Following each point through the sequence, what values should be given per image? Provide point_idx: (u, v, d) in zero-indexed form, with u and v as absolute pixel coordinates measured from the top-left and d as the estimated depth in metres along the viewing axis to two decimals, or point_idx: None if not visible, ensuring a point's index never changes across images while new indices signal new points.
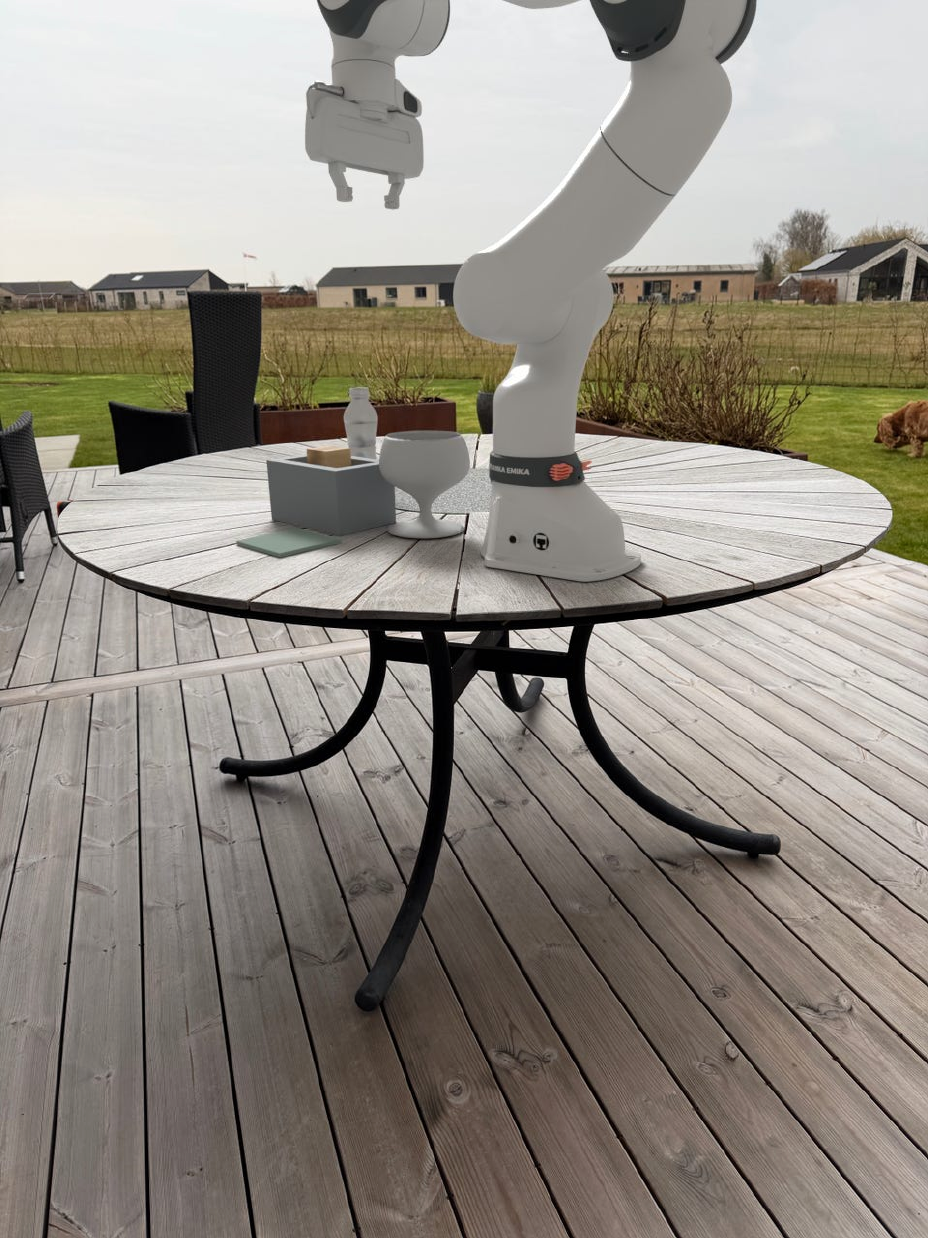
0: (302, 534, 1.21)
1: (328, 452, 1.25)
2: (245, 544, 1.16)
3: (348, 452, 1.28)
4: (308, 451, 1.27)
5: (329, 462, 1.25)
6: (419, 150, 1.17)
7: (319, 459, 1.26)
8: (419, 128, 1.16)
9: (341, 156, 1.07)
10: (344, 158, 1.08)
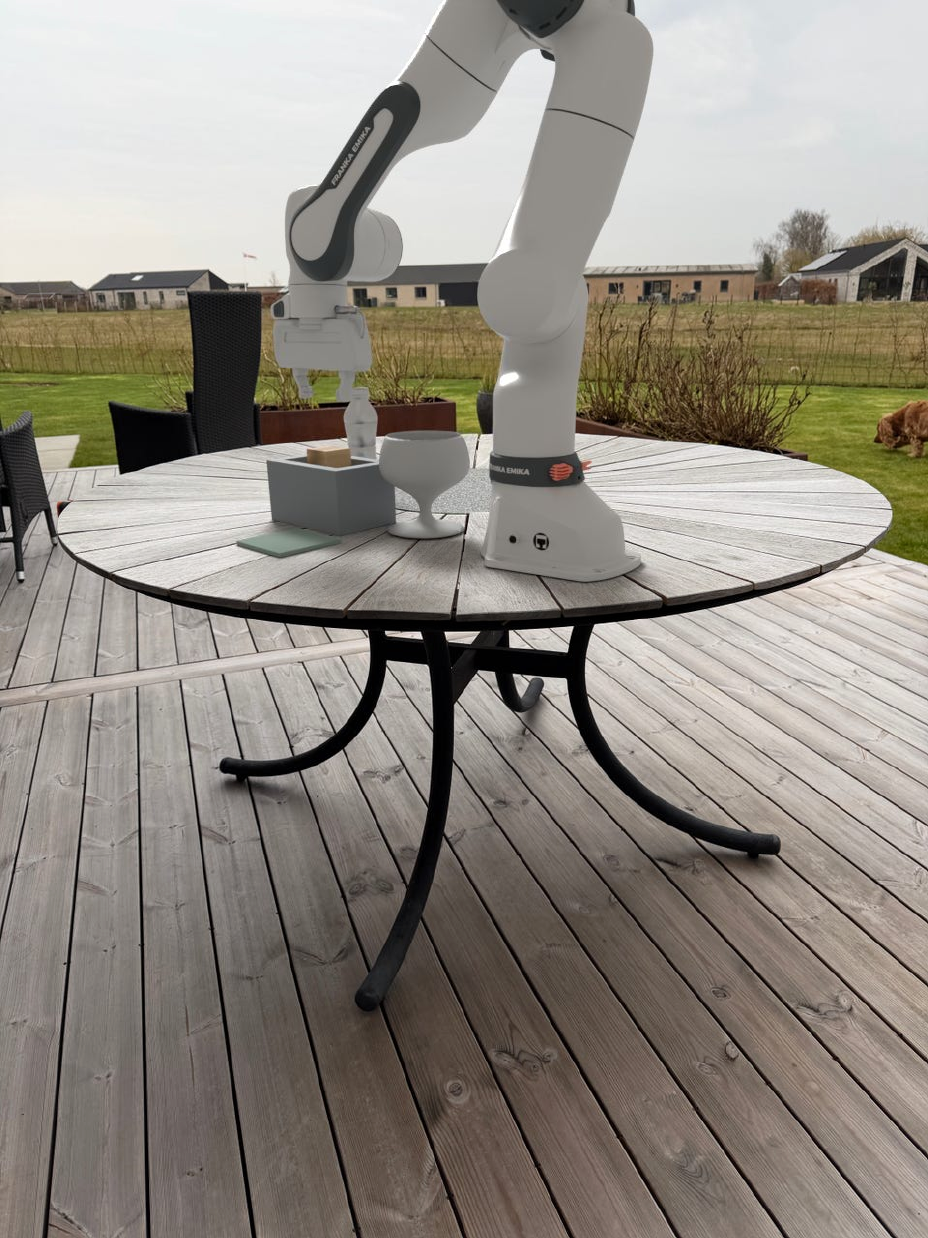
0: (302, 534, 1.21)
1: (328, 452, 1.25)
2: (245, 544, 1.16)
3: (348, 452, 1.28)
4: (308, 451, 1.27)
5: (329, 462, 1.25)
6: None
7: (319, 459, 1.26)
8: None
9: None
10: None
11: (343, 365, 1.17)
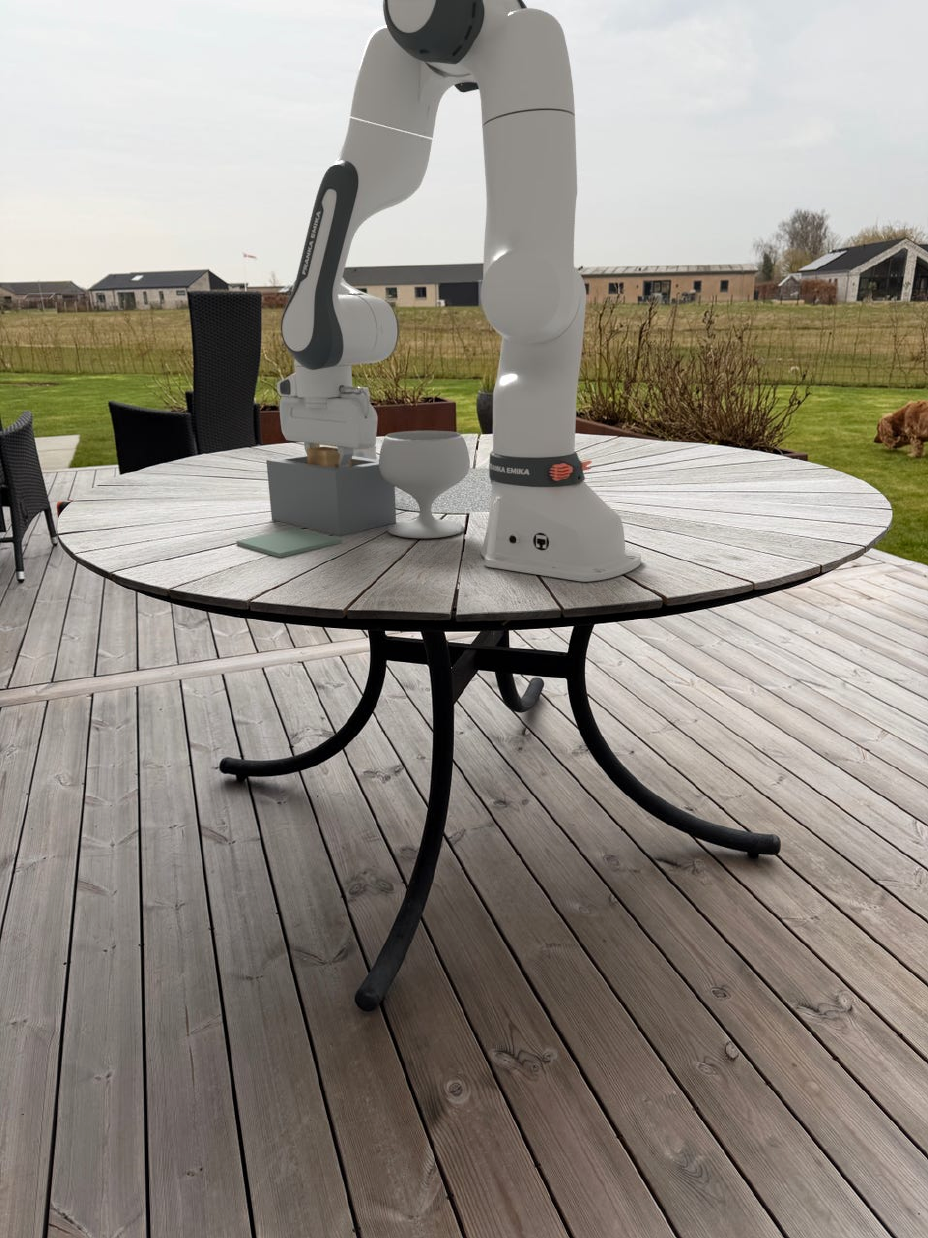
0: (302, 534, 1.21)
1: (328, 452, 1.25)
2: (245, 544, 1.16)
3: None
4: (308, 451, 1.27)
5: (329, 462, 1.25)
6: None
7: (319, 459, 1.26)
8: None
9: None
10: None
11: (348, 443, 1.21)
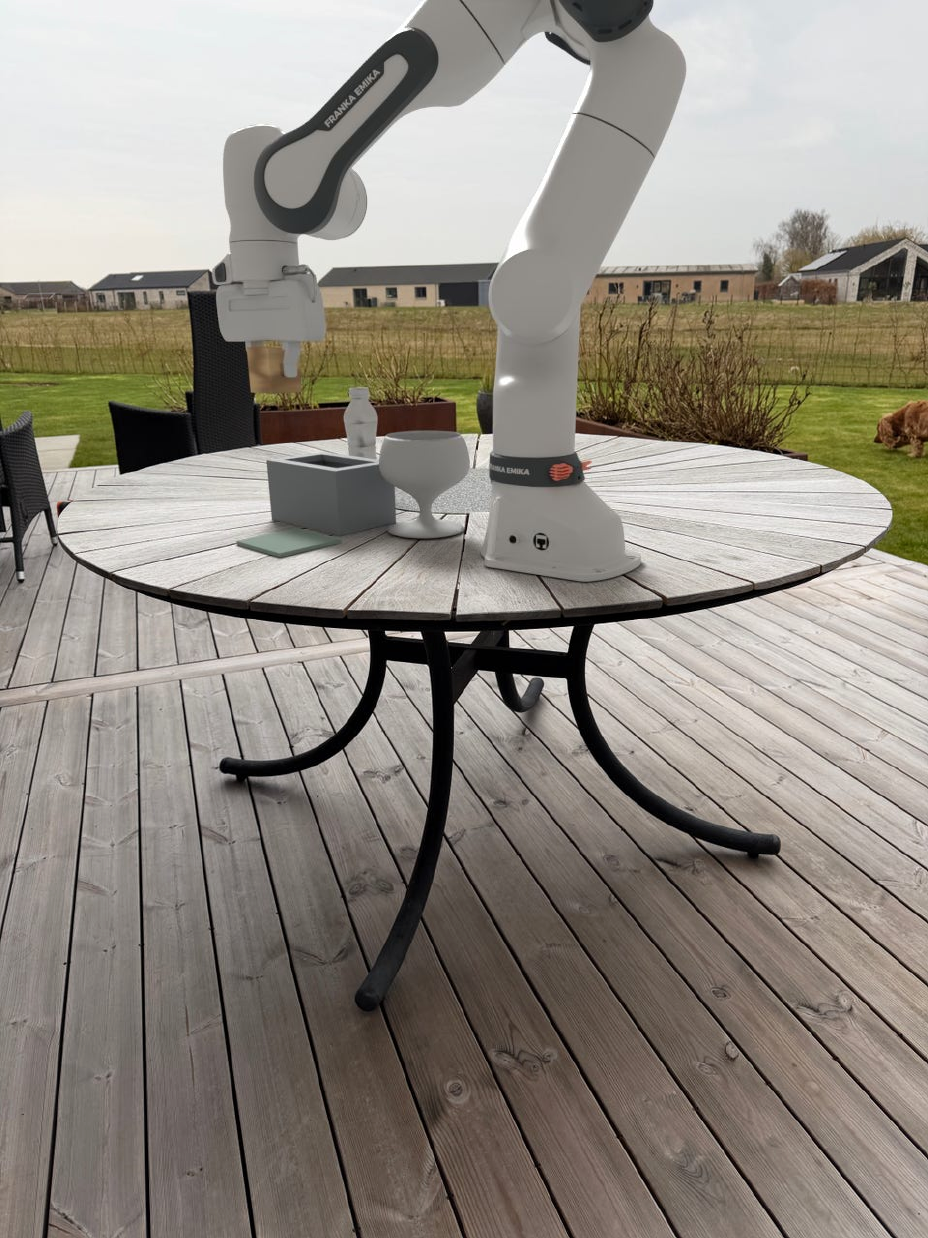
0: (302, 534, 1.21)
1: (271, 348, 1.05)
2: (245, 544, 1.16)
3: None
4: (248, 350, 1.08)
5: (272, 361, 1.06)
6: None
7: (261, 357, 1.06)
8: None
9: None
10: None
11: (293, 334, 1.02)
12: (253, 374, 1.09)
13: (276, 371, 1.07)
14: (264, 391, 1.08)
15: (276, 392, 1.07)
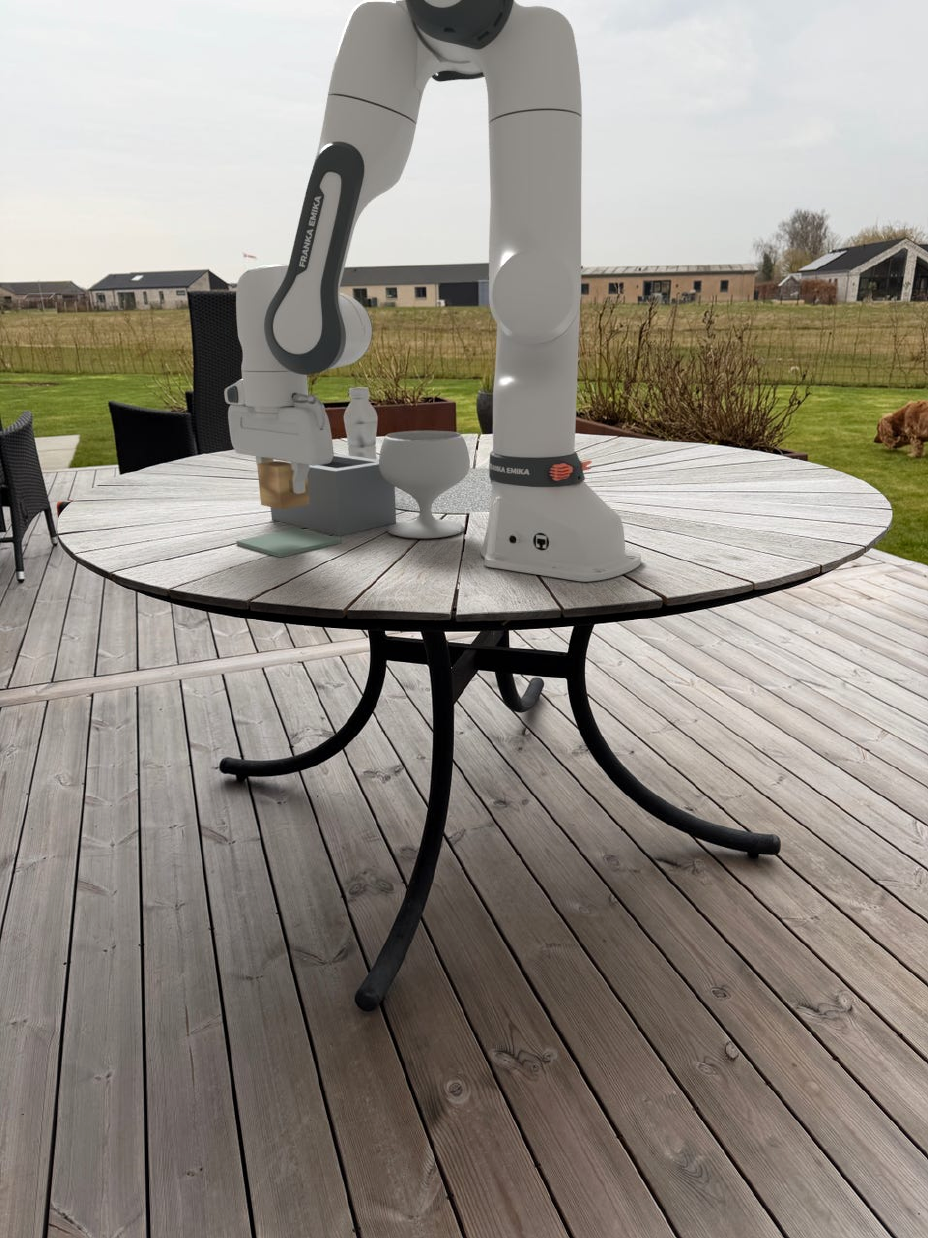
0: (302, 534, 1.21)
1: (280, 468, 1.11)
2: (245, 544, 1.16)
3: None
4: (259, 466, 1.13)
5: (282, 479, 1.11)
6: None
7: (271, 475, 1.12)
8: None
9: None
10: None
11: (302, 458, 1.07)
12: (263, 489, 1.14)
13: (286, 488, 1.12)
14: (274, 506, 1.13)
15: (285, 507, 1.13)
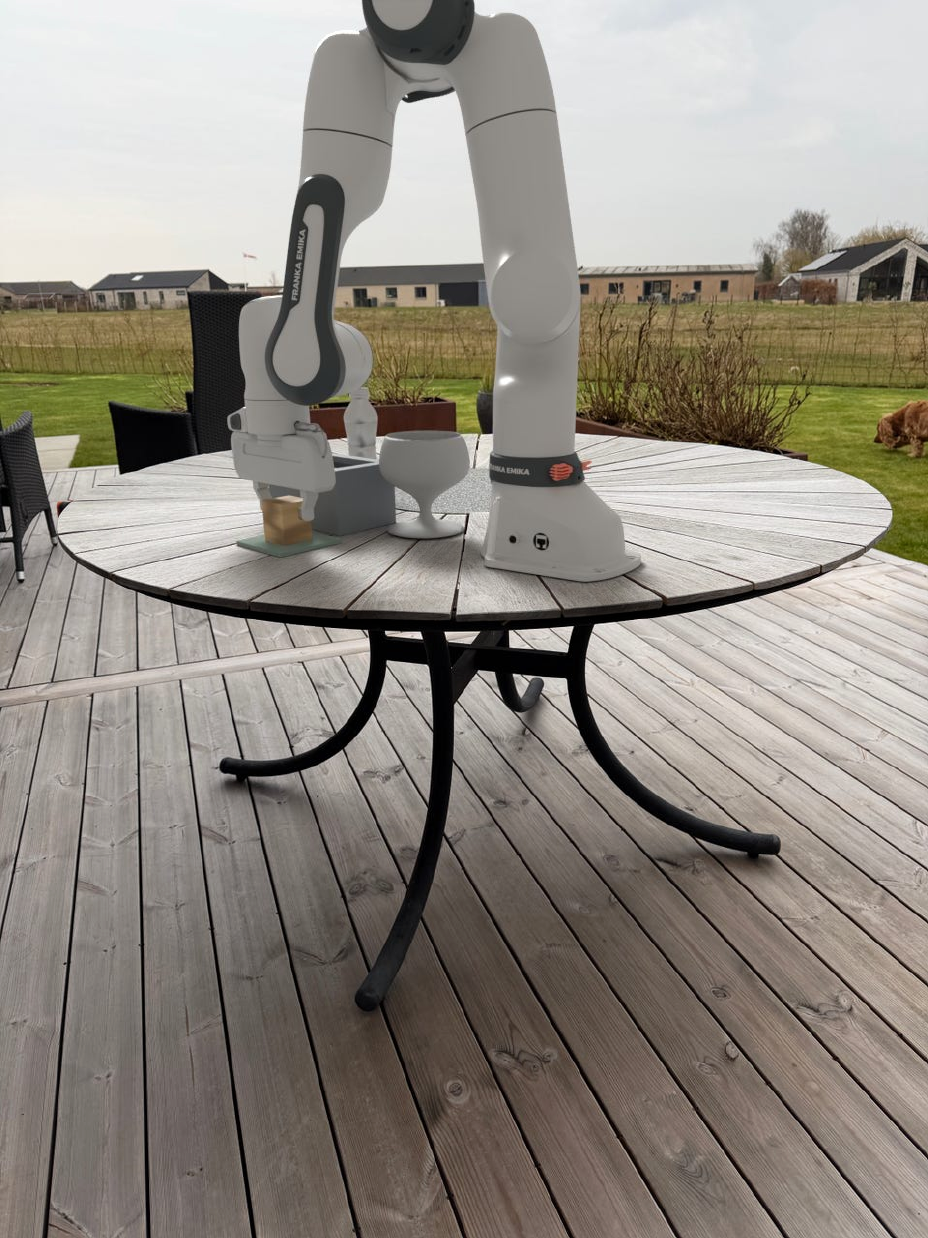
0: None
1: (284, 505, 1.12)
2: (245, 544, 1.16)
3: None
4: (263, 503, 1.15)
5: (285, 516, 1.13)
6: None
7: (275, 512, 1.14)
8: None
9: None
10: None
11: (304, 486, 1.08)
12: (267, 525, 1.16)
13: (289, 524, 1.14)
14: (278, 542, 1.15)
15: (289, 543, 1.14)
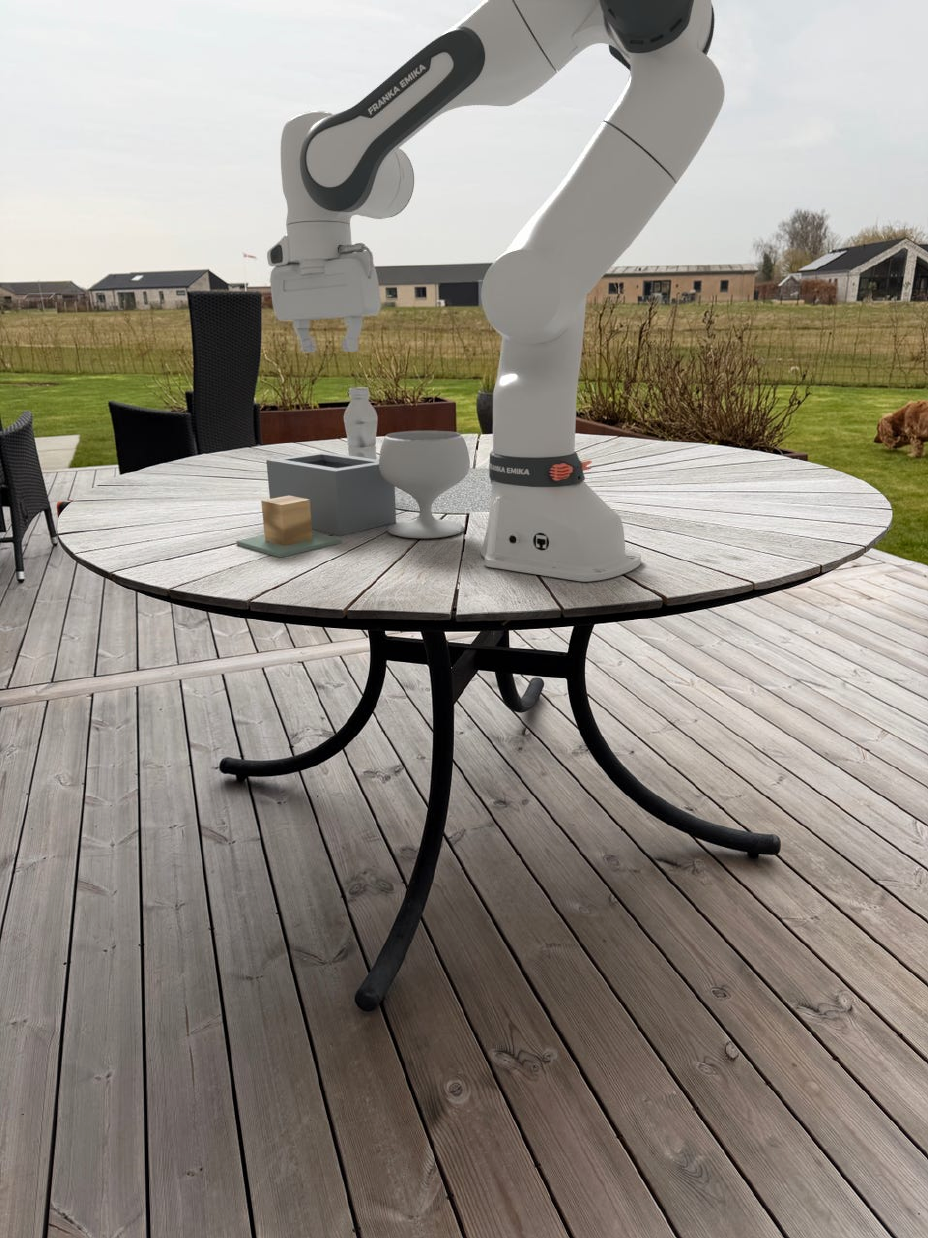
0: None
1: (284, 505, 1.12)
2: (245, 544, 1.16)
3: (308, 504, 1.15)
4: (263, 503, 1.15)
5: (285, 516, 1.13)
6: None
7: (275, 512, 1.14)
8: None
9: None
10: None
11: (350, 309, 1.08)
12: (267, 525, 1.16)
13: (289, 524, 1.14)
14: (278, 542, 1.15)
15: (289, 543, 1.14)
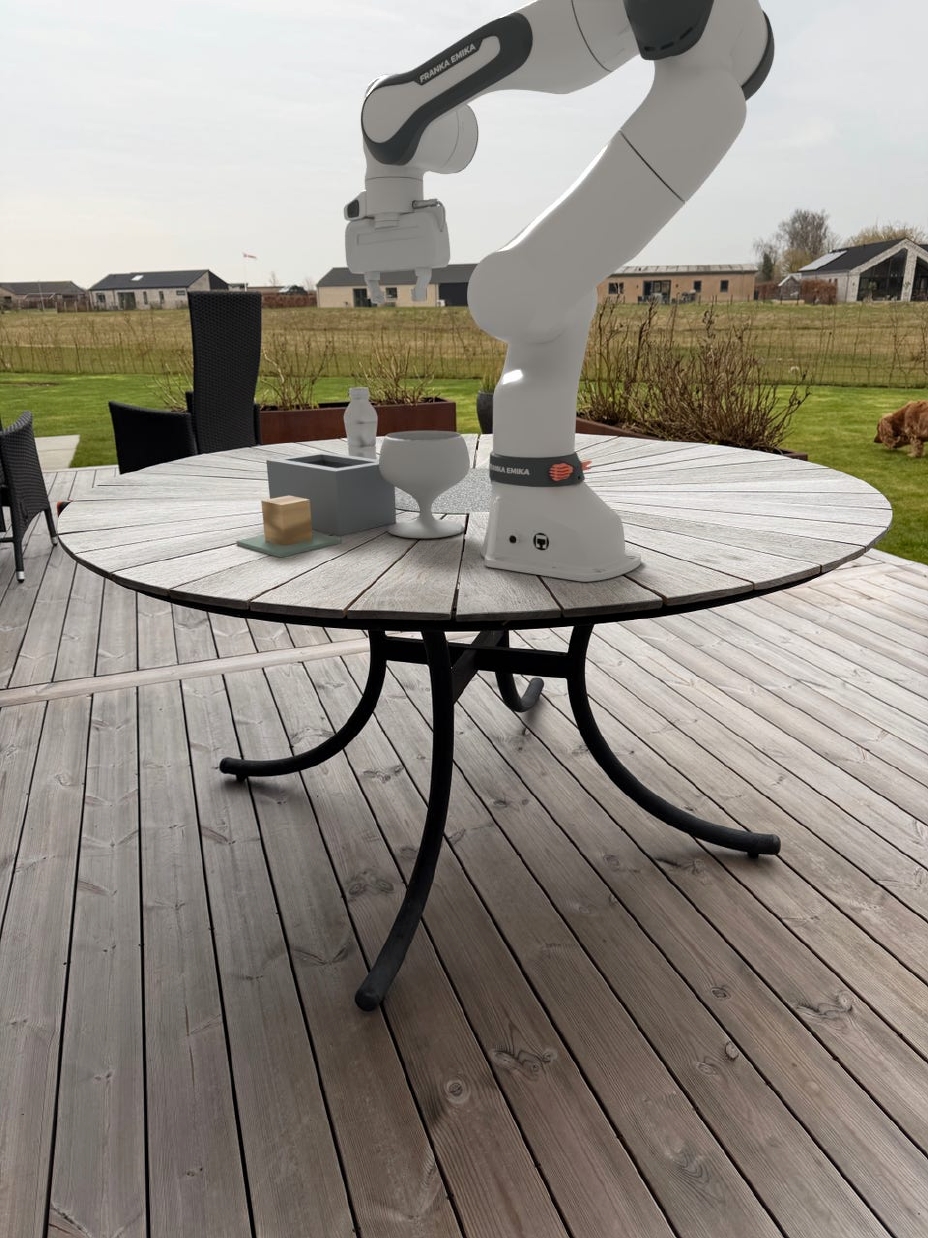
0: None
1: (284, 505, 1.12)
2: (245, 544, 1.16)
3: (308, 504, 1.15)
4: (263, 503, 1.15)
5: (285, 516, 1.13)
6: None
7: (275, 512, 1.14)
8: None
9: None
10: None
11: (421, 260, 1.16)
12: (267, 525, 1.16)
13: (289, 524, 1.14)
14: (278, 542, 1.15)
15: (289, 543, 1.14)
